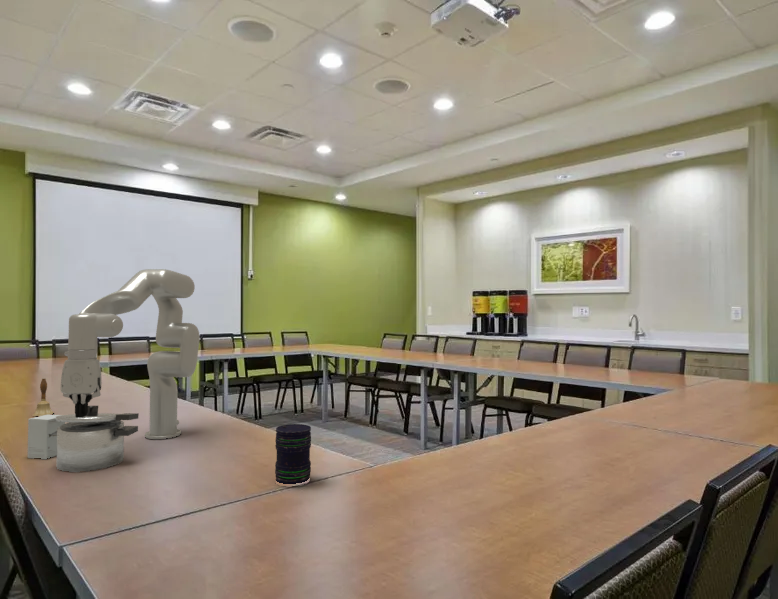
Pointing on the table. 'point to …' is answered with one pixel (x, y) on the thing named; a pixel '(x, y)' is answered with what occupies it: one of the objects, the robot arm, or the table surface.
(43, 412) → the hand bell
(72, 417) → the cooker lid
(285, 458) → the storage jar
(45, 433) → the supplement box
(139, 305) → the robot arm
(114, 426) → the cooker pot
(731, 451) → the table surface
